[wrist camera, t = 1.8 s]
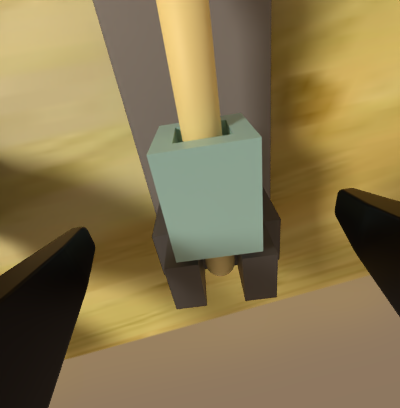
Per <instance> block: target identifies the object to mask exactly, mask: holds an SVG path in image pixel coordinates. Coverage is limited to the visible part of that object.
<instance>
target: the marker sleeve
mask: <svg viewBox="0 0 400 408" xmlns="http://www.w3.org/2000/svg"><path fill="white" fill-rule="evenodd" d="M220 117H221V127H222V136H217V137H211V138H205V139H198V140H192V141H186V142H183V141H182V135H181V130H180V125H179V123H174V124H168V125H162V126H159V128H158V130H157V132H156V134H155V137H154V139H153V141H152V143H151V146H150V148H149V150H148V153H147V159H148V162H149V166H150V170H151V173H152V177H153V180H154V184H155V188H156V191H157V195H158V198H159V202H160V206H161V209H162V213H163V216H164V220H165V223H166V227H167V231H168V234H169V238H170V241H171V245H172V249H173V252H174V256H175V259H176V263H178V262H185V261H193V260H201V259H208V258H216V257H224V256H231V255H239V254H246V253H254V252H262V251H263V197H262V137H261V136H260V135H259V133H258V132H257V131H256V130H255V129H254V127H253V126H252V125H251V124H250V123H249V122H248V120H247V119H246V118H245V117H244V116H243V114H242V113H236V114H230V115H224V116H220Z"/></svg>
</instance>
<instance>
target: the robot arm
mask: <svg viewBox="0 0 400 408" xmlns="http://www.w3.org/2000/svg"><path fill="white" fill-rule="evenodd" d="M335 215H336V217H337V219H338V221H339V223H340V225H341V227H342V229H343V231H344V233H345V234H346V236H347V238H348V240H349V242H350V244H351V246H352V247H353V249H354V251H355V253H356V254H357V256H358V257H359V259H360V260H361V262H362V263H363V264H364V266H365V267H366V269H367V270H368V272H369V273H370V275H371V276H372V277H373V279H374V280H375V282H376V283H377V285H378V286H379V287H380V289H381V291H382V292H383V293H384V295H385V296H386V298H387V299H388V301H389V302H390V304H391V305H392V306H393V308H394V309H395V311H396V312H397V314H398V315H399V316H400V202H399V201H396V200H392V199H389V198H385V197H382V196H379V195H375V194H372V193H368V192H365V191H361V190H358V189H355V188H348V189H341V190H340V191H339V192H338V195H337V200H336V206H335ZM94 253H95V244H94V242H93V240H92V238H91V236H90V234H89V232H88V230H87V229H86V228H85V227H77V228H73V229H71V230H69V231H68V232H66V233H65V234H63V235H62V236H60V237H59V238H57V239H56V240H54V241H53V242H51V243H49V244H48V245H46V246H45V247H43V248H42V249H40V250H39V251H37V252H36V253H34V254H33V255H31V256H30V257H28V258H27V259H25V260H23V261H22V262H20V263H19V264H17V265H16V266H14V267H13V268H11V269H10V270H8V271H7V272H5V273H4V274H2V275H1V276H0V408H48V407H49V404H50V401H51V398H52V395H53V392H54V388H55V385H56V382H57V379H58V376H59V373H60V370H61V367H62V364H63V361H64V358H65V355H66V352H67V349H68V345H69V342H70V339H71V336H72V333H73V330H74V327H75V324H76V321H77V318H78V315H79V312H80V308H81V305H82V302H83V299H84V296H85V293H86V290H87V286H88V282H89V277H90V272H91V268H92V263H93V258H94Z"/></svg>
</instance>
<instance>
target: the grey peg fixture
mask: <svg viewBox="0 0 400 408" xmlns="http://www.w3.org/2000/svg"><path fill="white" fill-rule="evenodd" d="M93 3H94V7H95V10H96V13H97V17H98V20H99V24H100V27H101V30H102V34H103V37H104V40H105V44H106V47H107V50H108V54H109V57H110V61H111V64H112V67H113V71H114V74H115V77H116V81H117V84H118V88H119V91H120V94H121V98H122V101H123V104H124V108H125V111H126V114H127V118H128V121H129V125H130V128H131V131H132V135H133V138H134V141H135V145H136V148H137V152H138V155H139V158H140V162H141V165H142V168H143V172H144V175H145V179H146V182H147V185H148V189H149V192H150V195H151V199H152V202H153V205H154V209H155V212H156V221H155V225H154V230H153V235H152V238H153V241H154V244H155V247H156V251H157V254H158V257H159V260H160V263H161V266H162V269H163V272H164V274H165V275H166V278H167V281H168V284H169V287H170V290H171V293H172V296H173V299H174V302H175V305H176V309H183V308H191V307H199V306H207V297H206V281H205V269H208V270H209V271H210V272H211V273H213V274H214V275H217V276H224V275H227V274H228V273H230V272H231V271H232V269H233V267H234V265H238V269H239V274H240V278H241V283H242V287H243V292H244V297H245V301H249V300H257V299H265V298H274V297H277V269H278V260H279V253H280V223H281V219H280V217H279V215H278V213H277V212H276V210H275V208H274V206H273V204H272V202H271V200H270V145H271V0H93ZM236 113H242V114H243V116H244V117H245V118H246V119H247V120H248V122H249V123H250V124H251V125H252V126H253V127H254V129H255V130H256V131H257V132H258V133H259V135H260V136H261V137H262V197H263V251H262V252H254V253H246V254H239V255H231V256H224V257H216V258H208V259H201V260H193V261H185V262H178V263H176V259H175V256H174V252H173V249H172V245H171V241H170V238H169V234H168V231H167V227H166V223H165V220H164V216H163V213H162V209H161V206H160V202H159V198H158V195H157V191H156V188H155V184H154V180H153V177H152V173H151V170H150V166H149V162H148V159H147V153H148V150H149V148H150V146H151V143H152V141H153V139H154V137H155V134H156V132H157V130H158V128H159V126H162V125H168V124H174V123H179V125H180V130H181V135H182V141H183V142H186V141H192V140H198V139H205V138H211V137H217V136H222V127H221V117H220V116H224V115H230V114H236Z"/></svg>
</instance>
